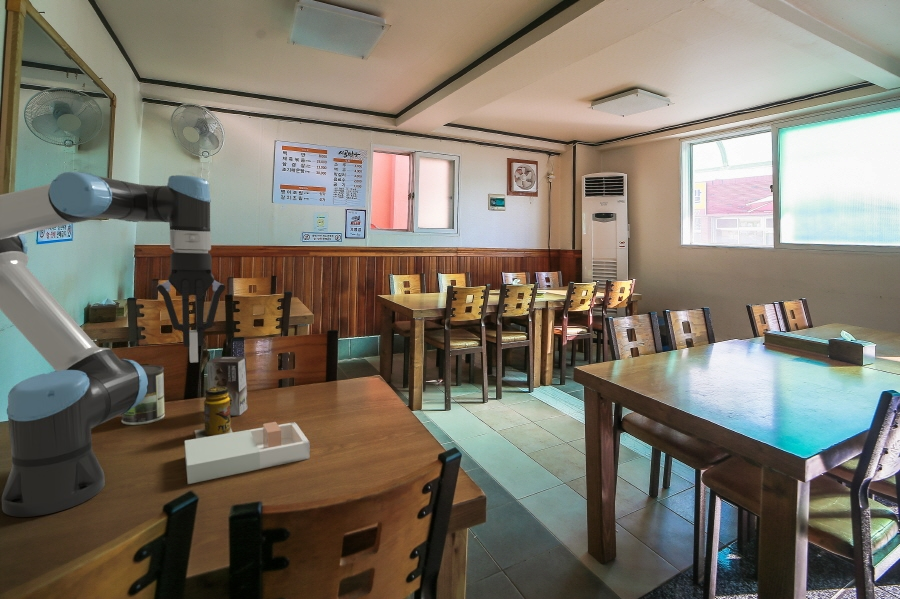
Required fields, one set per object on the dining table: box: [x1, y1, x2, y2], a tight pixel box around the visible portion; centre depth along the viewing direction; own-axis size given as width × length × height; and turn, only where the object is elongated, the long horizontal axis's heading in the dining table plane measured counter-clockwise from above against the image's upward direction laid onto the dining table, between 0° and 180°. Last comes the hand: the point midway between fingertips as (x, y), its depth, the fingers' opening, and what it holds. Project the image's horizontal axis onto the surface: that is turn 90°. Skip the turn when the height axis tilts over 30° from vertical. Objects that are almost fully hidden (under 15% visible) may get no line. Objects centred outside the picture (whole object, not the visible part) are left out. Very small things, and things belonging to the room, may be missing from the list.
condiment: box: [194, 386, 233, 439], centre depth 120 cm, size 7×8×12 cm
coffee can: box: [121, 364, 166, 426], centre depth 128 cm, size 10×10×14 cm
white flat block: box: [184, 429, 261, 485], centre depth 104 cm, size 14×14×4 cm
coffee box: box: [206, 356, 248, 416], centre depth 135 cm, size 9×6×16 cm
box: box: [249, 421, 311, 470], centre depth 111 cm, size 11×14×4 cm
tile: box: [262, 421, 281, 449], centre depth 110 cm, size 6×6×3 cm
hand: (193, 360), depth 99 cm, fingers closed
